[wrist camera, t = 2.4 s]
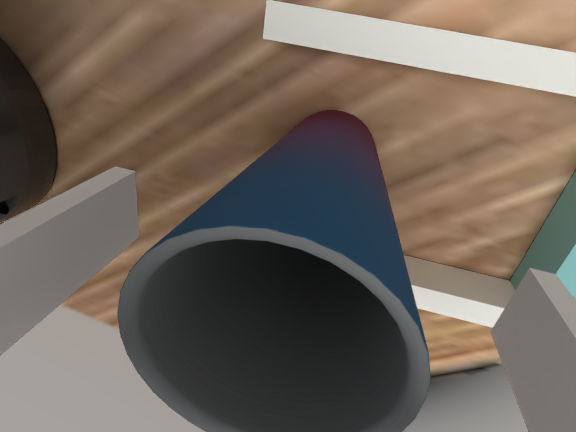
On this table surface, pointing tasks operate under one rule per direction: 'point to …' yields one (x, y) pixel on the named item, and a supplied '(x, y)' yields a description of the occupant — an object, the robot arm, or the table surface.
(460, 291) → the bay
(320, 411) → the cup
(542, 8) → the table surface
